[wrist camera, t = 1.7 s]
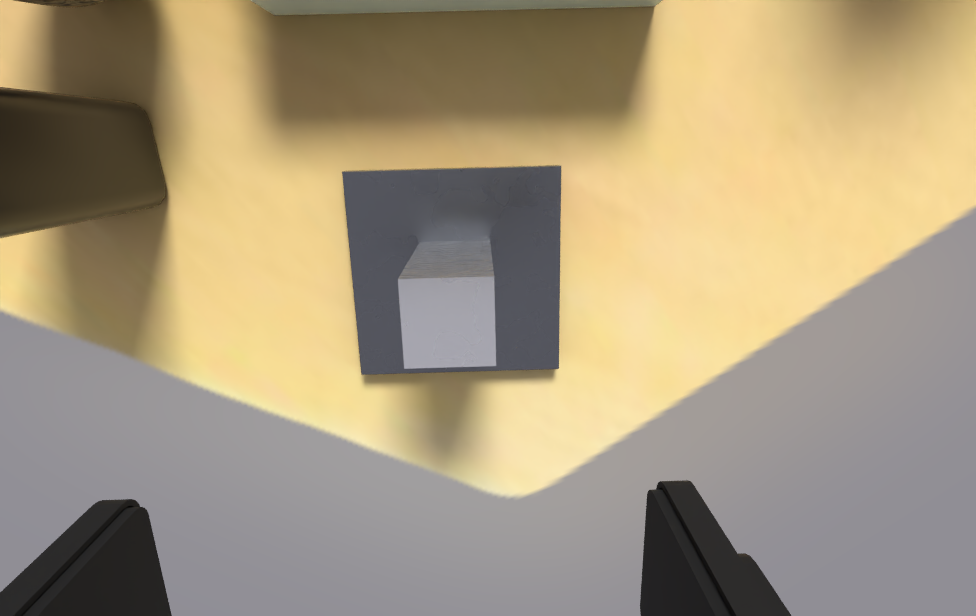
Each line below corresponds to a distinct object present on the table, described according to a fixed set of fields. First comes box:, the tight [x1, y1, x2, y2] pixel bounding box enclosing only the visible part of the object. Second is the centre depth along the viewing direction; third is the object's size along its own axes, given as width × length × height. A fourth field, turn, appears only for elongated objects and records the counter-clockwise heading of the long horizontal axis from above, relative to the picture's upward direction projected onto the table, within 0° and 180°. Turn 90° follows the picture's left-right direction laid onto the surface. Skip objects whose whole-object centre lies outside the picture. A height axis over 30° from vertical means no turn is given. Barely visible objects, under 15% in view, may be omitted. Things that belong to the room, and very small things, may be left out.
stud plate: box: [342, 165, 561, 374], centre depth 31 cm, size 12×12×5 cm
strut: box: [398, 240, 496, 369], centre depth 28 cm, size 4×4×9 cm
